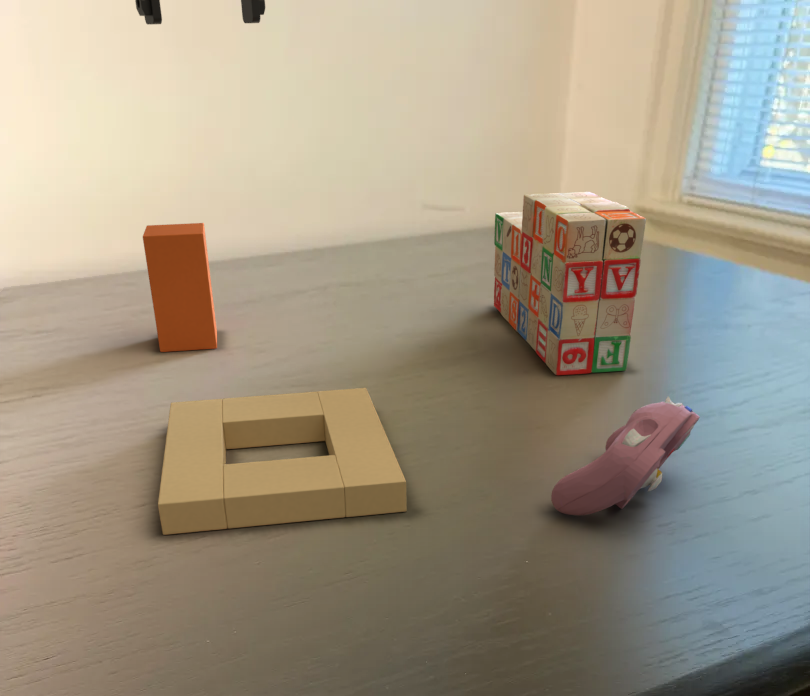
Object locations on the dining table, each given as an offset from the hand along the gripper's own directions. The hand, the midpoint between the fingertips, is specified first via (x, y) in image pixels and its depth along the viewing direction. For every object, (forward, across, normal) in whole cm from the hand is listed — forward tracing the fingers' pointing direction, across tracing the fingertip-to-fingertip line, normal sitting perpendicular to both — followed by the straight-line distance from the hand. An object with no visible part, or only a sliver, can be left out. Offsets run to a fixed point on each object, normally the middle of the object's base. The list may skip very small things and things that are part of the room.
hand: (204, 23), depth 73 cm
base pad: (+25, +10, +32) cm, 42 cm away
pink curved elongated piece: (+26, -5, +47) cm, 54 cm away
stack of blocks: (+26, -23, +20) cm, 40 cm away
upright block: (+25, +6, +2) cm, 26 cm away
